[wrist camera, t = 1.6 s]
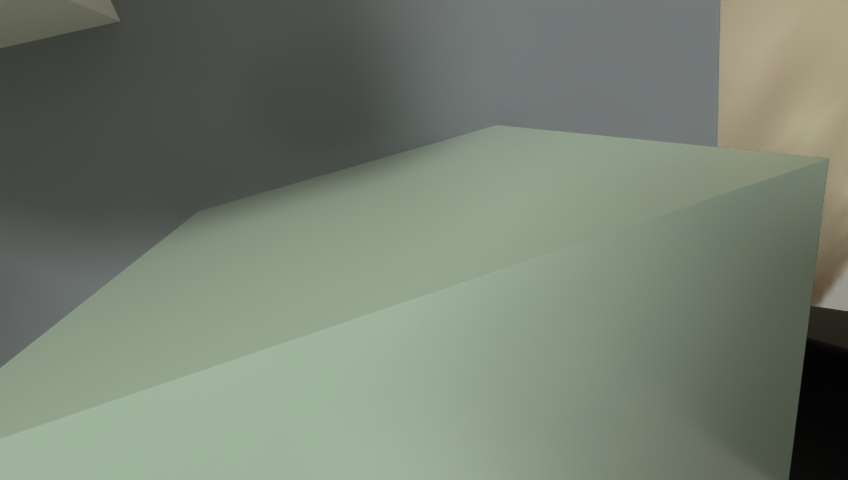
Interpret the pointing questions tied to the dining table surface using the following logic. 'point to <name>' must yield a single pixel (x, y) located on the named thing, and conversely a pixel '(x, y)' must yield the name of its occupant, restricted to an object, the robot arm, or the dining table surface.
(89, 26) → the ivory cube
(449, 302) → the frosted jade cube
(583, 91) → the slate board
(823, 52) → the dining table surface
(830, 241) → the dining table surface
